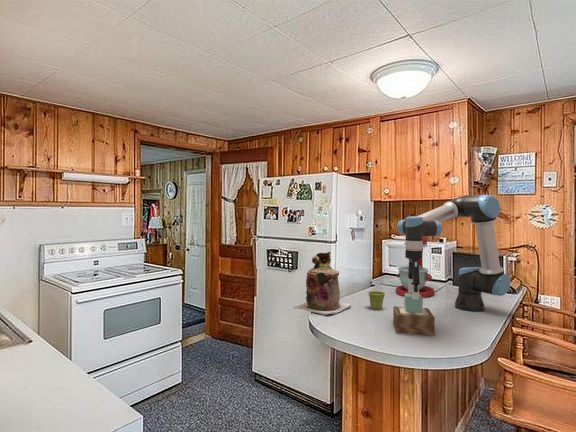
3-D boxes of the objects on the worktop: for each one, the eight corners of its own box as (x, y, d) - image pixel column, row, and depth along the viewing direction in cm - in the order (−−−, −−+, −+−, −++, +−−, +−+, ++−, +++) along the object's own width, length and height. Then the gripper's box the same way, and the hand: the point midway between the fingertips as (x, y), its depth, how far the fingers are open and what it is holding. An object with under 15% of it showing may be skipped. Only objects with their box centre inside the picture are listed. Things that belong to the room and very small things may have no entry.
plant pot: (385, 311, 202) (385, 295, 202) (367, 309, 204) (368, 294, 204) (384, 306, 211) (384, 291, 211) (367, 305, 213) (367, 290, 213)
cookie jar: (317, 301, 223) (317, 247, 223) (353, 308, 208) (354, 251, 207) (291, 309, 204) (292, 251, 204) (329, 317, 189) (330, 254, 188)
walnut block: (427, 324, 177) (428, 307, 177) (434, 335, 162) (434, 316, 162) (393, 322, 181) (393, 305, 180) (396, 332, 165) (396, 313, 165)
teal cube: (419, 308, 174) (420, 294, 174) (422, 312, 167) (422, 297, 167) (404, 308, 175) (404, 293, 175) (406, 311, 168) (406, 296, 168)
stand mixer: (390, 295, 241) (390, 233, 240) (403, 287, 267) (404, 231, 267) (428, 300, 228) (429, 235, 227) (438, 291, 254) (439, 233, 254)
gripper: (402, 247, 184) (401, 289, 184) (408, 252, 159) (408, 301, 160) (418, 247, 182) (417, 290, 183) (427, 253, 158) (426, 302, 158)
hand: (413, 295), depth 171 cm, fingers open, 13 cm apart
